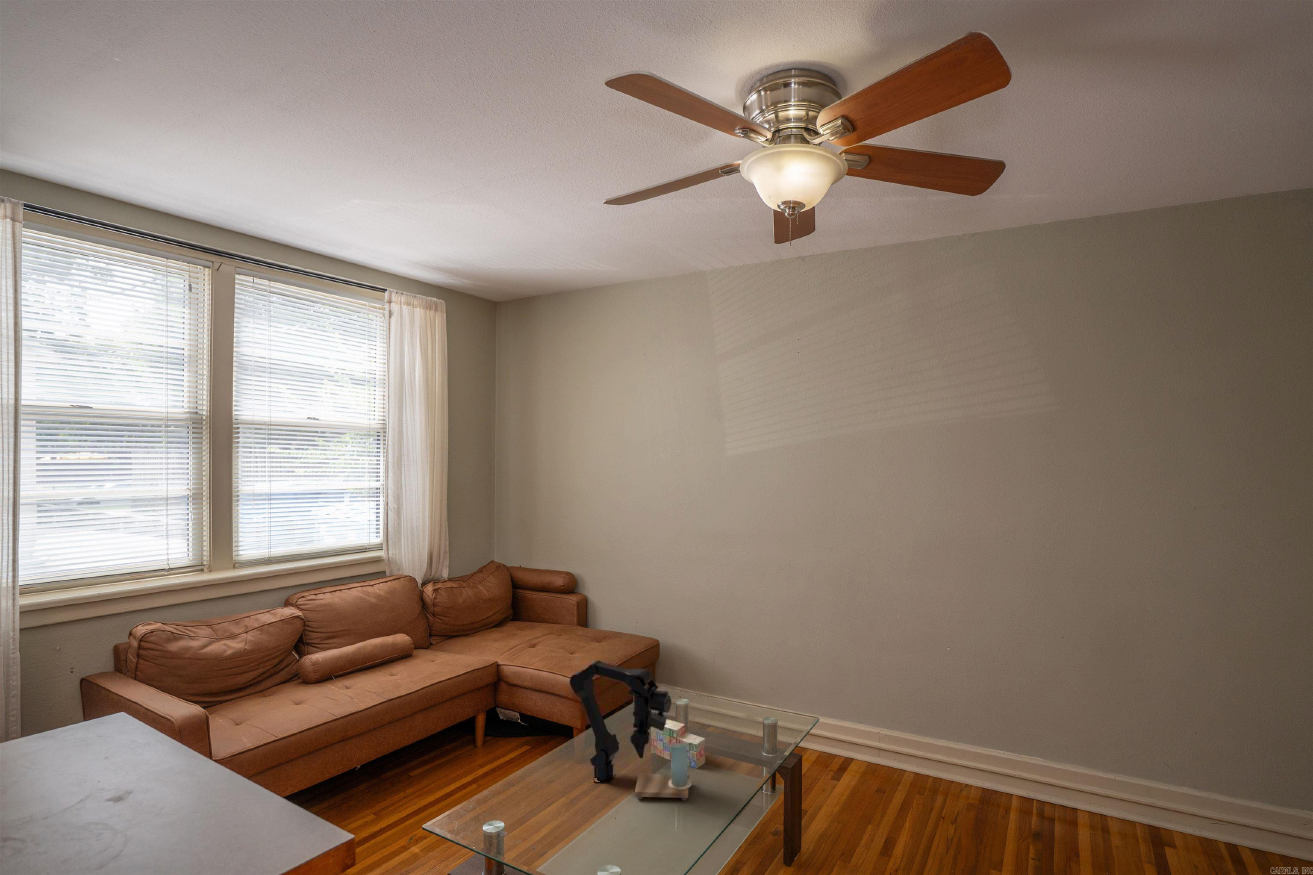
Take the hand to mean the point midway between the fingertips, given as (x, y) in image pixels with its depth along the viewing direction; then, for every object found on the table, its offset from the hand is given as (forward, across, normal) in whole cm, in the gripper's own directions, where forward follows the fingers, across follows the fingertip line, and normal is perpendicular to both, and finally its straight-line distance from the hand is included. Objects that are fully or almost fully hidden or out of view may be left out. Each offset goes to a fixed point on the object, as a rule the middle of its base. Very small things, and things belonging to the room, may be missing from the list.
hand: (642, 751), depth 243 cm
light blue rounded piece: (+10, -2, -13) cm, 16 cm away
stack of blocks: (+13, +23, -11) cm, 29 cm away
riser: (+13, -2, -7) cm, 15 cm away
